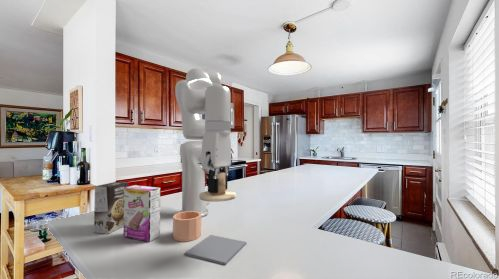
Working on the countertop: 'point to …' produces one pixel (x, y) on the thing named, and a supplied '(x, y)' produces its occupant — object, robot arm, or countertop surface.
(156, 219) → the candy bar box
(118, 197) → the coffee box
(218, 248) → the mat
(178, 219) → the bowl
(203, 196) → the lid
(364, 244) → the countertop surface
